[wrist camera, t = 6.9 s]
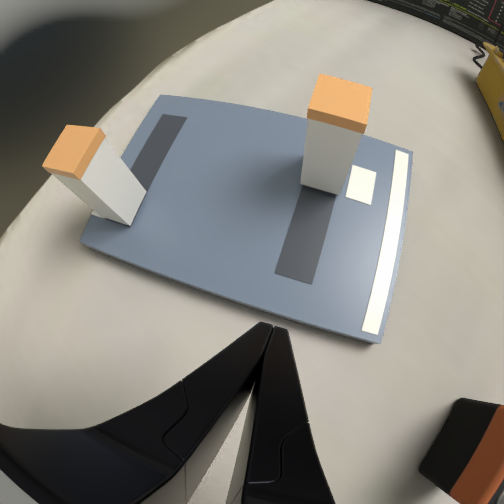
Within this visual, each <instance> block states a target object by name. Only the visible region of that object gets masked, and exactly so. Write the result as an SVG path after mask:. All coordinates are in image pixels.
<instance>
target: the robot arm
mask: <svg viewBox="0 0 504 504" xmlns="http://www.w3.org/2000/svg"><path fill="white" fill-rule="evenodd" d="M253 386H254V387H253ZM252 389H253V390H252ZM251 391H252V393H251ZM250 394H251V397H250V401H249V406H248V410H247V415H246V419H245V424H244V428H243V433H242V437H241V441H240V446H239V450H238V454H237V459H236V463H235V467H234V471H233V475H232V480H231V484H230V488H229V492H228V496H227V500H226V504H335V501H334V498H333V496H332V493H331V491H330V488H329V485H328V483H327V480H326V477H325V475H324V472H323V470H322V467H321V464H320V461H319V458H318V455H317V452H316V449H315V445H314V441H313V437H312V433H311V428H310V424H309V423H308V422H309V420H308V415H307V411H306V407H305V402H304V398H303V393H302V389H301V384H300V380H299V376H298V371H297V367H296V362H295V358H294V354H293V350H292V345H291V341H290V337H289V332H288V330H287V329H284V328H281V327H277V326H275V327H274V328H273V325H271V324H268V323H265V322H259V323H258V324H256V325H255V326H254V327H252V328H251V329H250V330H248V331H247V332H246V333H245V334H243V335H242V336H241V337H239V338H238V339H237V340H235V341H234V342H233V343H231V344H230V345H229V346H227V347H226V348H225V349H223V350H222V351H221V352H219V353H218V354H217V355H215V356H214V357H212V358H211V359H210V360H208V361H207V362H206V363H204V364H203V365H202V366H200V367H199V368H197V369H196V370H195V371H193V372H192V373H190V374H189V375H188V376H186V377H185V378H183V379H182V381H179V382H177V383H176V384H175V385H173V386H172V387H170V388H169V389H167V390H166V391H164V392H162V393H161V394H159V395H158V396H156V397H154V398H153V399H151V400H149V401H147V402H145V403H143V404H141V405H139V406H137V407H135V408H133V409H131V410H129V411H127V412H125V413H123V414H121V415H118V416H116V417H114V418H112V419H110V420H108V421H105V422H103V423H101V424H98V425H96V426H92V427H89V428H84V429H62V430H58V429H23V428H14V427H9V426H6V425H3V424H1V423H0V504H187V503H188V501H189V499H190V498H191V496H192V495H193V493H194V491H195V490H196V488H197V487H198V485H199V483H200V482H201V480H202V478H203V477H204V475H205V473H206V472H207V470H208V468H209V467H210V465H211V463H212V462H213V460H214V458H215V457H216V455H217V453H218V451H219V450H220V448H221V446H222V445H223V443H224V441H225V439H226V438H227V436H228V434H229V432H230V430H231V429H232V427H233V425H234V423H235V422H236V420H237V418H238V416H239V414H240V412H241V411H242V409H243V407H244V405H245V403H246V401H247V400H248V398H249V396H250Z"/></svg>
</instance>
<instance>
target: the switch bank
mask: <svg viewBox="0 0 504 504" xmlns="http://www.w3.org/2000/svg"><path fill="white" fill-rule="evenodd" d="M307 123H308V119H305V118H301V117H297V116H292V115H288V114H284V113H279V112H274V111H270V110H265V109H260V108H254V107H249V106H243V105H238V104H232V103H225V102H219V101H212V100H205V99H197V98H189V97H180V96H170V95H160V96H159V97H158V99H157V100H156V102H155V103H154V105H153V106H152V108H151V109H150V111H149V112H148V114H147V115H146V117H145V118H144V120H143V122H142V123H141V125H140V126H139V128H138V130H137V131H136V133H135V134H134V136H133V138H132V139H131V141H130V143H129V145H128V146H127V148H126V150H125V151H124V153H123V155H122V157H121V159H122V160H123V162H124V163H125V164H126V166H127V167H128V168H129V170H130V171H131V172H132V173H133V175H134V176H135V177H136V179H137V180H138V181H139V183H140V184H141V185H142V186H143V188H144V189H145V190H146V194H145V196H144V198H143V200H142V202H141V204H140V206H139V208H138V210H137V213H136V215H135V217H134V219H133V221H132V223H131V226H129V225H126V224H123V223H119V222H116V221H113V220H110V219H107V218H104V217H101V216H100V215H99V214H98V213H97V212H95V211H94V210H93V211H92V213H91V217H90V219H89V221H88V223H87V225H86V227H85V230H84V232H83V234H82V236H81V239H80V241H79V242H80V243H82V244H84V245H85V246H87V247H89V248H91V249H94V250H96V251H98V252H101V253H103V254H106V255H108V256H111V257H113V258H116V259H119V260H121V261H124V262H126V263H129V264H131V265H134V266H137V267H139V268H142V269H144V270H147V271H150V272H152V273H155V274H158V275H160V276H163V277H166V278H168V279H171V280H174V281H177V282H179V283H182V284H185V285H188V286H191V287H193V288H196V289H199V290H202V291H205V292H208V293H210V294H213V295H216V296H219V297H222V298H225V299H228V300H231V301H234V302H237V303H240V304H243V305H246V306H249V307H252V308H255V309H258V310H261V311H264V312H267V313H271V314H274V315H277V316H280V317H283V318H286V319H290V320H293V321H296V322H299V323H303V324H306V325H309V326H313V327H316V328H319V329H323V330H326V331H330V332H333V333H336V334H340V335H343V336H347V337H350V338H354V339H358V340H361V341H365V342H369V343H372V344H381V340H382V336H383V333H384V329H385V325H386V321H387V317H388V313H389V309H390V305H391V300H392V296H393V291H394V287H395V282H396V277H397V272H398V267H399V261H400V256H401V250H402V244H403V238H404V231H405V224H406V217H407V209H408V201H409V192H410V182H411V170H412V156H413V152H412V151H409V150H406V149H404V148H401V147H398V146H395V145H392V144H390V143H387V142H384V141H381V140H378V139H375V138H372V137H369V136H366V135H362V137H361V139H360V142H359V145H358V148H357V151H356V153H355V156H354V159H353V162H352V164H351V167H350V170H349V172H348V175H347V178H346V180H345V183H344V185H343V188H342V191H341V193H340V195H336V194H333V193H330V192H326V191H323V190H320V189H316V188H313V187H309V186H306V185H302V184H300V180H301V173H302V165H303V157H304V148H305V140H306V131H307Z"/></svg>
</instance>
